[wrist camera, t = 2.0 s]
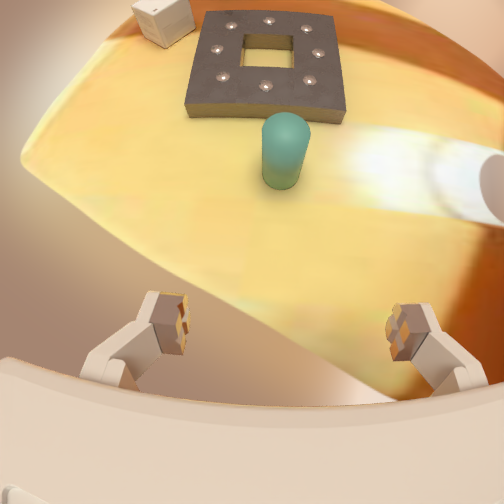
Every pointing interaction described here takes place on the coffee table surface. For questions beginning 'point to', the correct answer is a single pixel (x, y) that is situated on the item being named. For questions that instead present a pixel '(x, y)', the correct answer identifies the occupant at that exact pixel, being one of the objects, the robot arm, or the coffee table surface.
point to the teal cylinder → (283, 149)
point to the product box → (164, 20)
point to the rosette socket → (267, 78)
